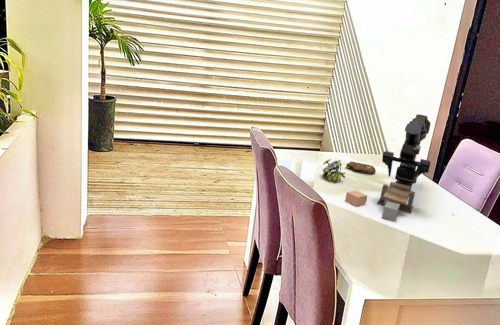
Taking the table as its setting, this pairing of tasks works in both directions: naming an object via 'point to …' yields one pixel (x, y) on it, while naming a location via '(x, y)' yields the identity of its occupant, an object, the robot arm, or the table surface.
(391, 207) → the slate block
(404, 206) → the trapdoor frame
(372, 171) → the decorative rock
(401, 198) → the trapdoor
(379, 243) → the table surface
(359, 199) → the plinth
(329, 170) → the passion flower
